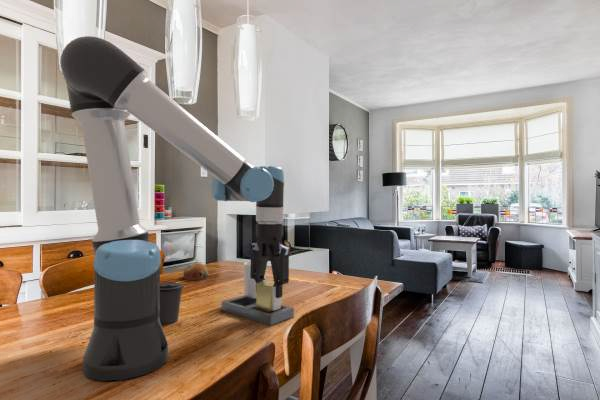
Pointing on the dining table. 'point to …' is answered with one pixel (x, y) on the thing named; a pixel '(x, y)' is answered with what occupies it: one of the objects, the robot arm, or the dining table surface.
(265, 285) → the pale yellow block
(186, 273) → the bread roll
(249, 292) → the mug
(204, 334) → the dining table surface
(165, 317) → the coffee cup
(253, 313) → the grey flat frame
